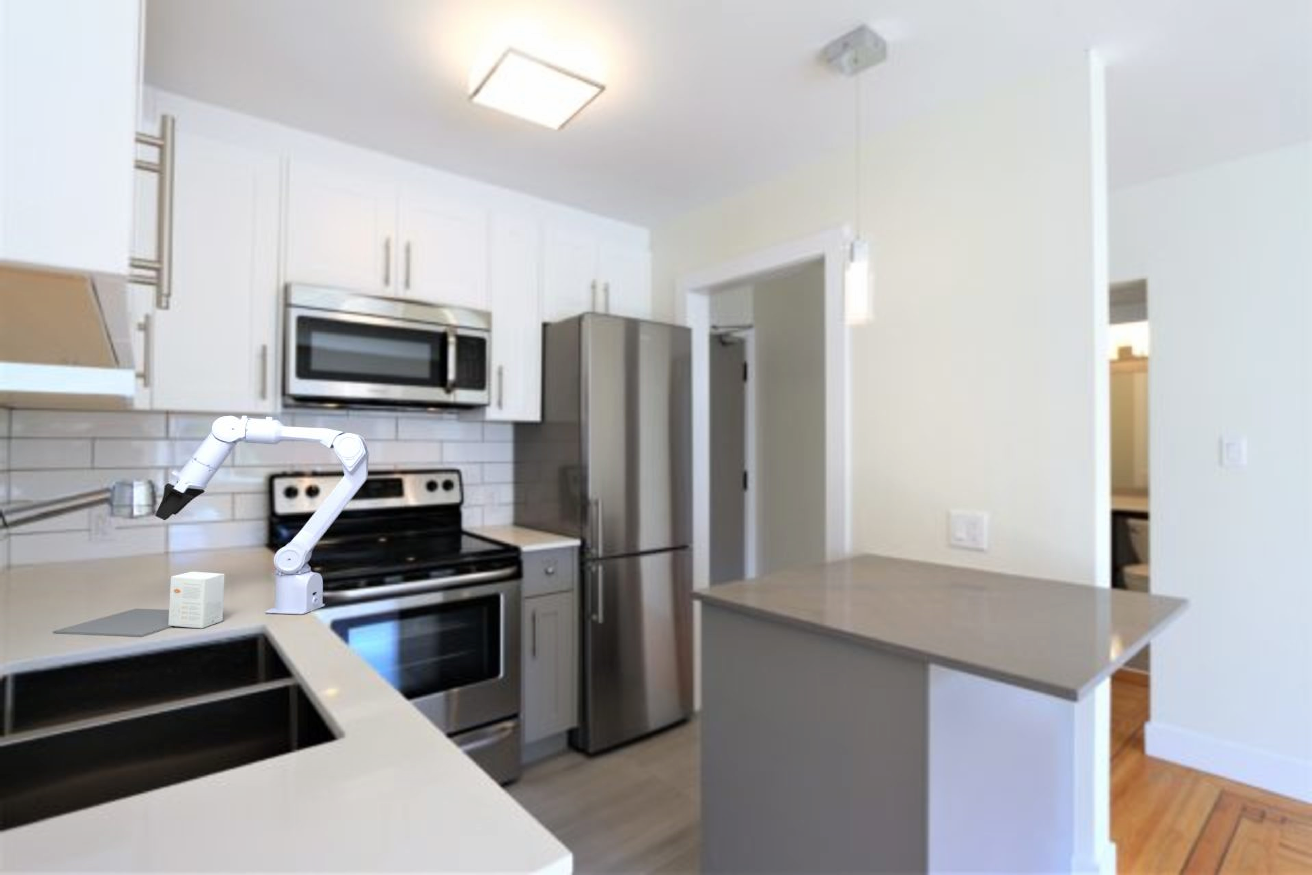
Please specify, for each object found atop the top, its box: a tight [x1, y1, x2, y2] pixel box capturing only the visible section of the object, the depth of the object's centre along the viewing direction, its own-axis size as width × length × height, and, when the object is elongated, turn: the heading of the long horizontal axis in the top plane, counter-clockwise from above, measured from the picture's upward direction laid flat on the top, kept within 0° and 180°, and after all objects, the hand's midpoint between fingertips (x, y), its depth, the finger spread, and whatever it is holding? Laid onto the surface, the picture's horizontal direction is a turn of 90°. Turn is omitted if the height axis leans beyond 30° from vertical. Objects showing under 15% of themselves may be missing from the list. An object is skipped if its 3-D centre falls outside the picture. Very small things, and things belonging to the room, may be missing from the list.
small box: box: [168, 571, 226, 629], centre depth 133 cm, size 8×6×10 cm
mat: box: [52, 608, 173, 638], centre depth 135 cm, size 20×18×1 cm
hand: (165, 515), depth 138 cm, fingers open, 7 cm apart
